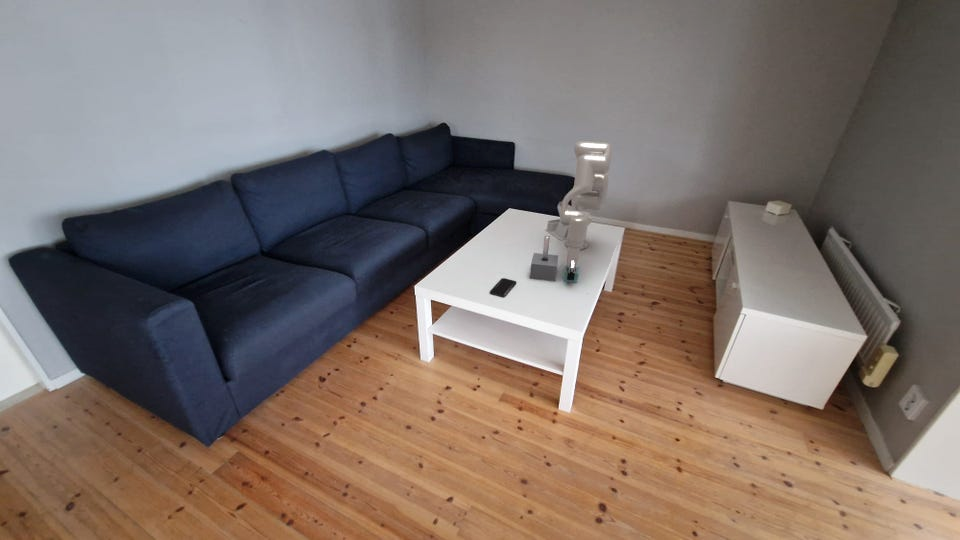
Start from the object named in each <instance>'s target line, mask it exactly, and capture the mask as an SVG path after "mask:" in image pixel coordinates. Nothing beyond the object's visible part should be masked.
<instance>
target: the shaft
mask: <svg viewBox="0 0 960 540" xmlns="http://www.w3.org/2000/svg"><path fill="white" fill-rule="evenodd" d="M549 247H550V236H549V235H544V239H543V250H542V254H543V259H542V261H547V259H548V254H549V249H550V248H549Z"/></svg>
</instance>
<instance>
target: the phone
mask: <svg viewBox="0 0 960 540" xmlns="http://www.w3.org/2000/svg"><path fill="white" fill-rule="evenodd" d="M516 285H517V281H516V280H513V279H509V278H505V277H503V278H501V279H499V281H497V283H496V284H495V285H494V286H493V287H492V288H491V289H490V290H489V295H492V296H496V297H500V298H506V297H507V296H508V294H509V293H510V292H511V291H512V290H513V289H514V288H515V286H516Z"/></svg>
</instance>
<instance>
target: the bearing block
mask: <svg viewBox="0 0 960 540" xmlns="http://www.w3.org/2000/svg"><path fill="white" fill-rule="evenodd" d="M542 259H543V253H540V252H539V253H538V252H537V253H536V252H533V255H532V259H531V263H530V274H529V279H531V280H539V281H540V280H541V281H542V280H543V281H550V282H555V281H556V278H557V267H558V262H559V261H558V260H559V255H558V254H549V253H548V259H547V261H542Z"/></svg>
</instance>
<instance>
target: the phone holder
mask: <svg viewBox="0 0 960 540" xmlns="http://www.w3.org/2000/svg"><path fill="white" fill-rule="evenodd" d="M562 202H563V201H559V203H558V204H557V211H558V214H559V216H560V212H561V206H562ZM567 209H569V210H572V205H570V204H568V206H567ZM546 226H547V228H546V232H547V233H548V234H549V235H551V236H552V237H554V238H556V239H557V240H558V241H560V242H565V241H567V236H568V228H569V226H567V225H563V224H561V223H560V218H559V219H552V220H548V221H547V225H546Z"/></svg>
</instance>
